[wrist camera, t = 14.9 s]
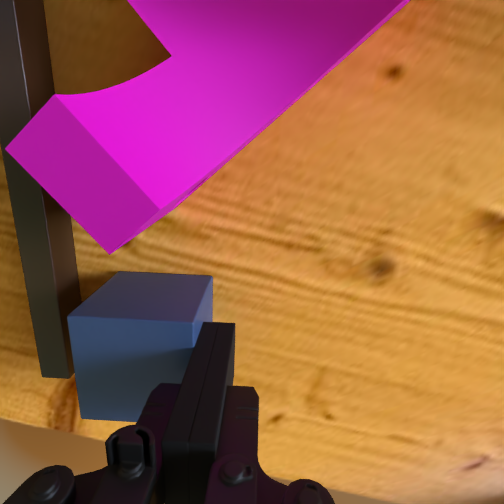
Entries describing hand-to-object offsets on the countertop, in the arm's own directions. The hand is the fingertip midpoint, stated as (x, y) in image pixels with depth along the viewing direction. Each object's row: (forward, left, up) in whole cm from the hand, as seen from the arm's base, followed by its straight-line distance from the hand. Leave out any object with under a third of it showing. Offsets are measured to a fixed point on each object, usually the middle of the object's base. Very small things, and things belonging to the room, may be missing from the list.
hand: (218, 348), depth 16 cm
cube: (0, -3, -3) cm, 4 cm away
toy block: (-13, +1, -3) cm, 14 cm away
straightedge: (-7, -9, -3) cm, 12 cm away
